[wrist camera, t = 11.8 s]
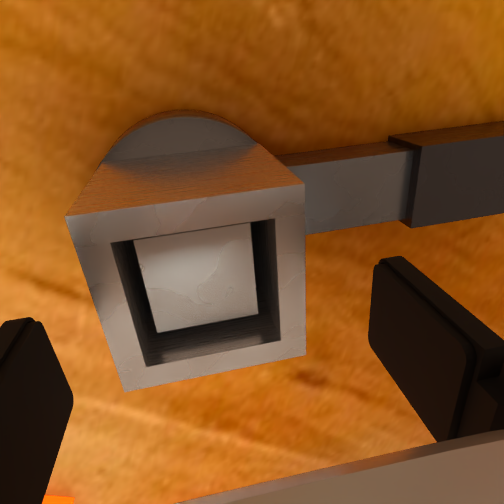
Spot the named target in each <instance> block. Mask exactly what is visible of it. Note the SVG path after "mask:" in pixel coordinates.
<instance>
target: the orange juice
mask: <svg viewBox="0 0 504 504" xmlns="http://www.w3.org/2000/svg"><path fill="white" fill-rule="evenodd" d="M73 502H74V497H61V496H49V495H45V496H44V499H43V502H42V504H73Z"/></svg>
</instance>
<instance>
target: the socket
mask: <svg viewBox="0 0 504 504" xmlns="http://www.w3.org/2000/svg"><path fill="white" fill-rule="evenodd" d="M64 217H65V220H66V223H67V226H68V229H69V232H70V235H71V238H72V241H73V243H74V246H75V249H76V252H77V255H78V258H79V261H80V264H81V267H82V270H83V273H84V275H85V278H86V281H87V284H88V287H89V290H90V293H91V296H92V299H93V302H94V305H95V308H96V310H97V313H98V316H99V319H100V322H101V325H102V328H103V331H104V334H105V337H106V340H107V342H108V345H109V348H110V351H111V354H112V357H113V360H114V363H115V366H116V369H117V372H118V374H119V377H120V380H121V383H122V386H123V389H124V392H128V391H132V390H137V389H142V388H147V387H152V386H157V385H162V384H167V383H171V382H176V381H181V380H186V379H191V378H196V377H201V376H205V375H210V374H215V373H220V372H225V371H230V370H235V369H240V368H244V367H249V366H254V365H259V364H264V363H269V362H274V361H279V360H283V359H288V358H293V357H298V356H303V355H306V284H305V183H303V182H302V181H301V180H300V179H299V178H298V177H297V176H295V175H294V174H293V173H292V172H291V171H290V170H289V169H288V168H286V167H285V166H284V165H283V164H282V163H281V162H280V161H278V160H277V159H276V158H275V157H274V156H273V155H272V154H271V153H269V152H268V151H267V150H266V149H265V148H264V147H263V146H261V145H260V144H259V143H258V144H250V145H242V146H233V147H225V148H217V149H208V150H200V151H191V152H183V153H174V154H166V155H158V156H149V157H141V158H132V159H124V160H116V161H107V162H102V164H101V165H100V167H99V168H98V169H97V171H96V172H95V174H94V175H93V177H92V178H91V179H90V181H89V182H88V184H87V185H86V187H85V188H84V189H83V191H82V192H81V194H80V195H79V197H78V198H77V199H76V201H75V202H74V204H73V205H72V206H71V208H70V209H69V211H68V212H67V214H66V215H65V216H64ZM246 222H250V228H251V240H252V251H253V262H254V273H255V285H256V296H257V307H258V314H255V315H249V316H244V317H239V318H233V319H228V320H223V321H218V322H212V323H207V324H202V325H196V326H191V327H186V328H180V329H175V330H170V331H164V332H159V333H157V330H156V326H155V322H154V318H153V314H152V310H151V307H150V303H149V299H148V295H147V291H146V287H145V284H144V280H143V276H142V272H141V268H140V264H139V261H138V257H137V253H136V249H135V245H134V241H133V239H138V238H145V237H152V236H159V235H165V234H172V233H179V232H185V231H192V230H199V229H206V228H212V227H219V226H226V225H232V224H239V223H246Z"/></svg>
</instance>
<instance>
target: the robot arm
mask: <svg viewBox="0 0 504 504" xmlns="http://www.w3.org/2000/svg"><path fill="white" fill-rule="evenodd" d="M368 339H369V344H370V346H371V348H372V349H373V351H374V352H375V354H376V355H377V357H378V358H379V359H380V361H381V362H382V364H383V365H384V367H385V368H386V370H387V371H388V372H389V374H390V375H391V377H392V378H393V380H394V381H395V382H396V384H397V385H398V387H399V388H400V390H401V391H402V392H403V394H404V395H405V397H406V398H407V400H408V401H409V403H410V404H411V405H412V407H413V408H414V410H415V411H416V413H417V414H418V415H419V417H420V418H421V420H422V421H423V423H424V424H425V425H426V427H427V428H428V430H429V431H430V433H431V434H432V435H433V437H434V438H435V440H436V441H437V442H438V443H433V444H428V445H424V446H419V447H415V448H410V449H406V450H402V451H397V452H393V453H389V454H384V455H380V456H376V457H371V458H367V459H363V460H358V461H354V462H349V463H345V464H341V465H336V466H332V467H328V468H323V469H319V470H315V471H310V472H306V473H302V474H298V475H293V476H289V477H285V478H281V479H276V480H272V481H268V482H264V483H259V484H255V485H251V486H247V487H242V488H238V489H234V490H230V491H225V492H221V493H217V494H213V495H208V496H204V497H200V498H196V499H192V500H187V501H183V502H179V503H175V504H504V340H503V339H502V338H500V337H499V336H498V335H497V334H496V333H494V332H493V331H492V330H491V329H490V328H488V327H487V326H486V325H485V324H484V323H482V322H481V321H480V320H479V319H477V318H476V317H475V316H474V315H473V314H471V313H470V312H469V311H468V310H467V309H465V308H464V307H463V306H462V305H461V304H459V303H458V302H457V301H456V300H454V299H453V298H452V297H451V296H450V295H448V294H447V293H446V292H445V291H444V290H442V289H441V288H440V287H439V286H438V285H436V284H435V283H434V282H433V281H431V280H430V279H429V278H428V277H427V276H425V275H424V274H423V273H422V272H421V271H419V270H418V269H417V268H416V267H415V266H413V265H412V264H411V263H410V262H408V261H407V260H406V259H405V258H404V257H402V256H395V257H389V258H383V259H381V260H380V261H379V264H377V265H375V266H374V270H373V282H372V295H371V307H370V319H369V331H368ZM72 408H73V394H72V391H71V389H70V386H69V384H68V382H67V379H66V377H65V375H64V372H63V370H62V368H61V366H60V363H59V361H58V359H57V356H56V354H55V352H54V349H53V347H52V345H51V343H50V340H49V338H48V336H47V333H46V331H45V329H44V326H43V325H42V323H41V322H39V321H36V322H35V320H34V319H33V318H31V317H27V318H21V319H15V320H9V321H5V322H4V323H3V324H2V326H1V327H0V504H42V502H43V499H44V496H45V493H46V489H47V486H48V483H49V480H50V477H51V474H52V471H53V467H54V464H55V461H56V458H57V455H58V452H59V449H60V445H61V442H62V439H63V436H64V433H65V430H66V427H67V423H68V420H69V417H70V414H71V411H72Z"/></svg>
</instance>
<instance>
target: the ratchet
mask: <svg viewBox="0 0 504 504" xmlns="http://www.w3.org/2000/svg"><path fill="white" fill-rule="evenodd" d="M250 144H257V143H256V142H255V141H254V140H253V139H252V138H251V137H250V136H249V135H248V134H246V133H245V132H244V131H243V130H242V129H240V128H239V127H238V126H236V125H235V124H233V123H231V122H230V121H228V120H226V119H224V118H222V117H219V116H217V115H214V114H211V113H207V112H203V111H196V110H172V111H167V112H162V113H159V114H156V115H153V116H150V117H148V118H146V119H144V120H142V121H140V122H138V123H136V124H135V125H134V126H132V127H131V128H129V129H128V130H127V131H126V132H125V133H124V134H123V135H121V136H120V137H119V139H118V140H117V141H116V142H115V144H114V145H113V146H112V147H111V149H110V150H109V152H108V153H107V154H106V156H105V157H104V159H103V160H102V161H101V163H100V165H101V164H102V162H107V161H116V160H124V159H132V158H141V157H149V156H158V155H166V154H174V153H183V152H191V151H200V150H208V149H217V148H225V147H233V146H242V145H250ZM274 157H275V158H276V159H277V160H278V161H280V162H281V163H282V164H283V165H284V166H285V167H286V168H288V169H289V170H290V171H291V172H292V173H293V174H294V175H295V176H297V177H298V178H299V179H300V180H301V181H302V182H303V183H305V235H308V234H314V233H320V232H326V231H333V230H339V229H345V228H351V227H357V226H364V225H370V224H376V223H382V222H388V221H395V220H399V221H401V222H402V223H404V224H405V225H407V226H408V227H409V228H416V227H422V226H428V225H434V224H441V223H447V222H453V221H459V220H465V219H471V218H477V217H483V216H489V215H495V214H501V213H504V121H499V122H491V123H483V124H476V125H468V126H460V127H452V128H444V129H436V130H428V131H420V132H412V133H404V134H397V135H389V137H388V141H386V142H378V143H370V144H362V145H355V146H347V147H339V148H331V149H324V150H316V151H308V152H300V153H293V154H285V155H277V156H274ZM100 165H99V166H98V168H99V167H100ZM98 168H97V169H98ZM96 171H97V170H96ZM94 174H95V173H94ZM133 241H134V245H135V249H136V253H137V257H138V261H139V264H140V268H141V272H142V276H143V280H144V284H145V287H146V291H147V295H148V299H149V303H150V307H151V310H152V314H153V318H154V322H155V326H156V330H157V333H159V332H164V331H170V330H175V329H180V328H186V327H191V326H196V325H202V324H207V323H212V322H218V321H223V320H228V319H233V318H239V317H244V316H249V315H255V314H258V307H257V296H256V285H255V273H254V262H253V251H252V240H251V228H250V222H246V223H239V224H232V225H226V226H219V227H212V228H206V229H199V230H192V231H185V232H179V233H172V234H165V235H159V236H152V237H145V238H138V239H133Z"/></svg>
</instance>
